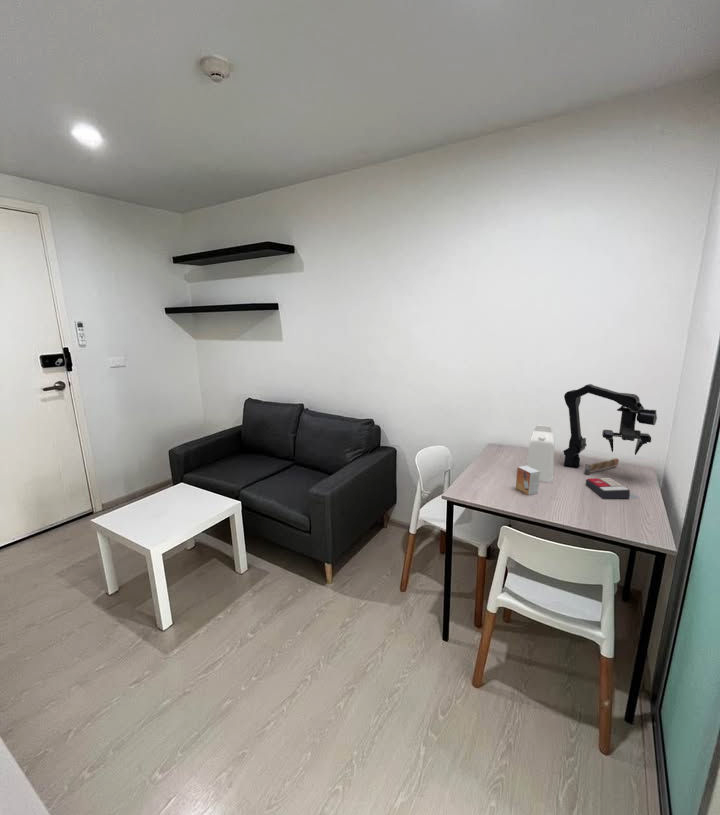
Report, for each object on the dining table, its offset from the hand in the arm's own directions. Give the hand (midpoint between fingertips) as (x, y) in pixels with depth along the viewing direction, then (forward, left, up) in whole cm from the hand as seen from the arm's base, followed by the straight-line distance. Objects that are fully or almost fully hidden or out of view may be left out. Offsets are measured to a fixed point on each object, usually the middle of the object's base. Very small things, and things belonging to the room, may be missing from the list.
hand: (623, 453), depth 189 cm
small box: (-39, -34, -13) cm, 53 cm away
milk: (-35, -14, -13) cm, 40 cm away
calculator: (-10, -13, -11) cm, 20 cm away
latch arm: (-14, -2, -13) cm, 19 cm away
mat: (0, -16, -13) cm, 21 cm away
